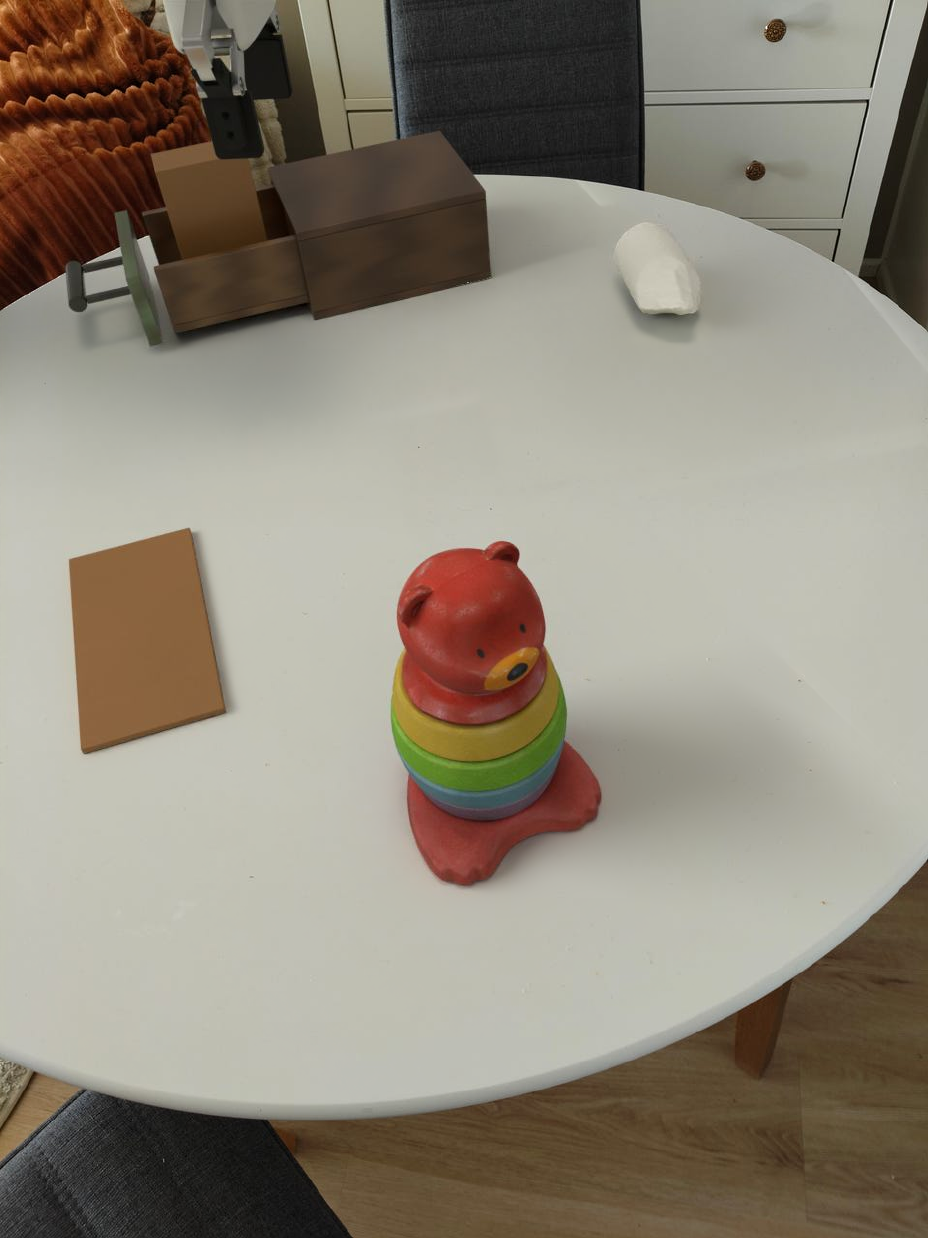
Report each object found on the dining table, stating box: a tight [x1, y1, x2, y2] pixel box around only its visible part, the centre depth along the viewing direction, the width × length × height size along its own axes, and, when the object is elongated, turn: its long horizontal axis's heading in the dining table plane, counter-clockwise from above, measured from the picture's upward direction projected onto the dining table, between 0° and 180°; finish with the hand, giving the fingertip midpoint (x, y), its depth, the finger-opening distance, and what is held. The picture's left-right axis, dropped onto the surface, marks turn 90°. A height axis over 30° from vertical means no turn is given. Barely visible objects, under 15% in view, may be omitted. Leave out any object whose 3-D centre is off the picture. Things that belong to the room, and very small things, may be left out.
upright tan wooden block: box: [150, 140, 268, 260], centre depth 91 cm, size 8×4×12 cm, turn 108°
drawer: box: [64, 183, 310, 347], centre depth 93 cm, size 22×13×7 cm, turn 108°
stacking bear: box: [390, 540, 603, 886], centre depth 51 cm, size 11×10×18 cm
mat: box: [68, 527, 227, 755], centre depth 68 cm, size 18×9×1 cm, turn 18°
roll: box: [613, 221, 703, 316], centre depth 88 cm, size 6×12×6 cm, turn 8°
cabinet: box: [267, 130, 492, 321], centre depth 96 cm, size 18×15×9 cm
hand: (257, 125), depth 69 cm, fingers open, 9 cm apart
